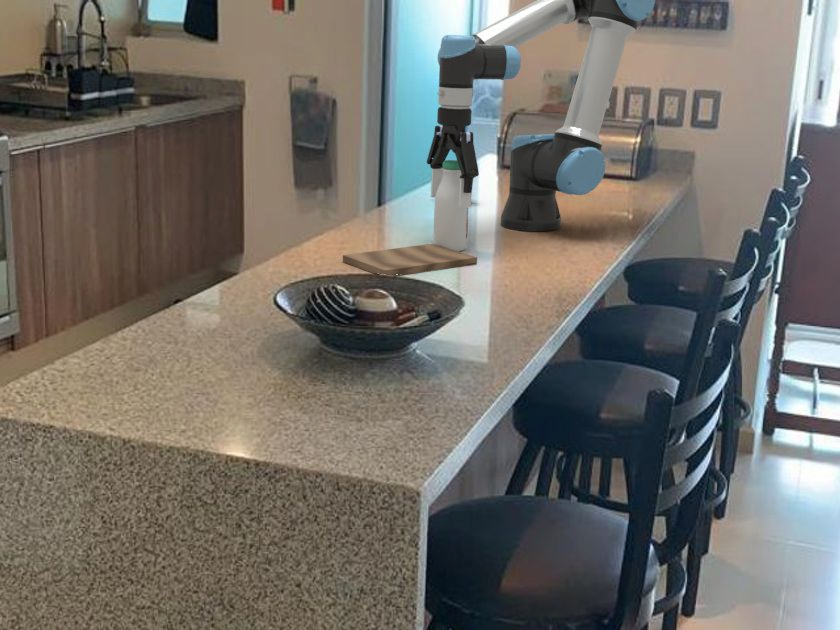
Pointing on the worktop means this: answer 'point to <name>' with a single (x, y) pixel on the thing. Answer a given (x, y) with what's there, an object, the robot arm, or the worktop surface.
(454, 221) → the milk bottle
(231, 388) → the worktop surface
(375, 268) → the board
